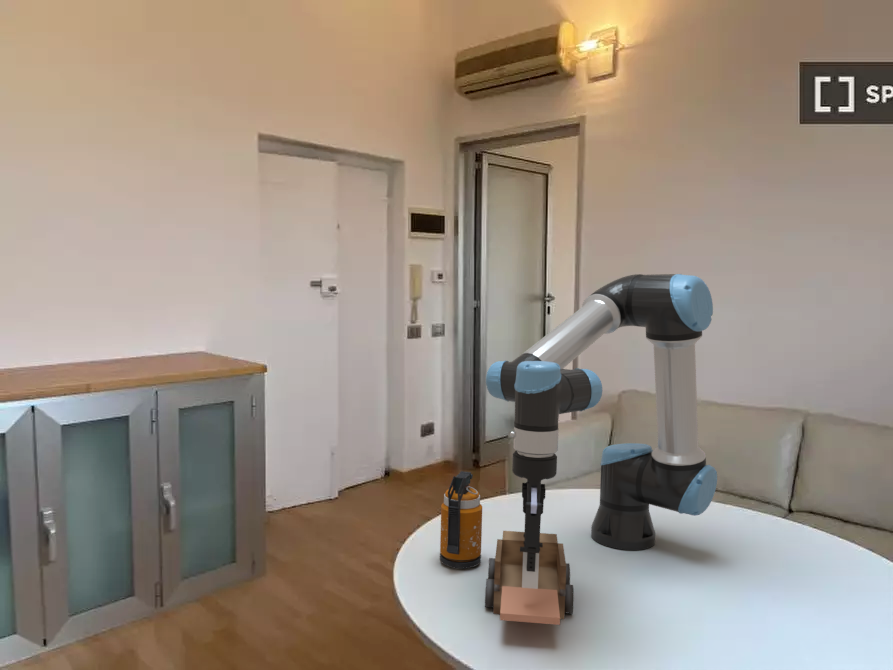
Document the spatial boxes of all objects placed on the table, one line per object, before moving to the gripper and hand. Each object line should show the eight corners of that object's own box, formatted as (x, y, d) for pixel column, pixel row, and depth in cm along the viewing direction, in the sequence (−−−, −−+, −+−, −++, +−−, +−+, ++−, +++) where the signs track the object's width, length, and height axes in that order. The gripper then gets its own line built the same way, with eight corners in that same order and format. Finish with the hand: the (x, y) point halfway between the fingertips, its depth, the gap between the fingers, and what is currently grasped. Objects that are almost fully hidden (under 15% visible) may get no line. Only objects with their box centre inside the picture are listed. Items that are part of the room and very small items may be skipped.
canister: (485, 558, 151) (488, 470, 149) (471, 577, 140) (473, 483, 139) (447, 552, 154) (449, 465, 152) (430, 571, 143) (432, 478, 142)
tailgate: (557, 590, 123) (560, 617, 113) (556, 598, 123) (559, 627, 113) (502, 585, 124) (500, 613, 114) (502, 594, 124) (499, 622, 114)
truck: (567, 582, 139) (569, 534, 139) (573, 621, 123) (575, 568, 122) (489, 576, 141) (490, 529, 140) (484, 614, 125) (486, 561, 124)
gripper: (513, 442, 122) (509, 569, 124) (512, 460, 109) (507, 601, 111) (555, 444, 121) (550, 572, 123) (559, 463, 108) (553, 605, 110)
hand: (529, 586), depth 117 cm, fingers closed
